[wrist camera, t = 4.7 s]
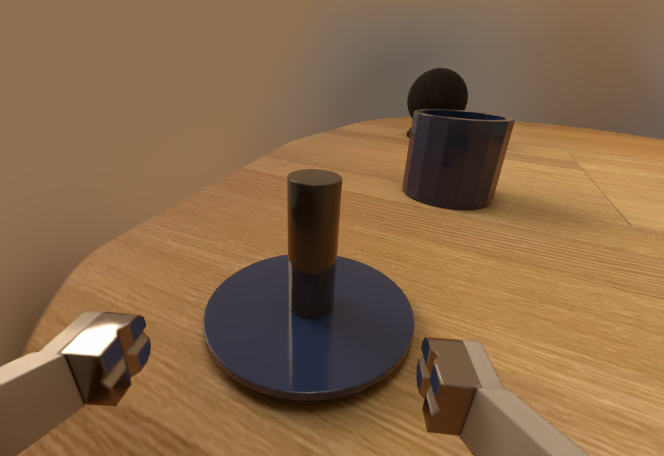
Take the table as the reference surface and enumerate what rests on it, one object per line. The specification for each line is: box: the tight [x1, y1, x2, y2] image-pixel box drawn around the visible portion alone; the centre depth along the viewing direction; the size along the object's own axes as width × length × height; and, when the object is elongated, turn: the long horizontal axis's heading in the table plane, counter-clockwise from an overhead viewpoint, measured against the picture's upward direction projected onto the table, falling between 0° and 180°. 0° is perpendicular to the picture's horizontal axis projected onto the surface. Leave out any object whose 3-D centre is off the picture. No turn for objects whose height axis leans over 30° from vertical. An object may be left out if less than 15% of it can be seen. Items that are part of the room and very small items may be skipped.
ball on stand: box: [407, 68, 468, 138], centre depth 76 cm, size 13×13×15 cm
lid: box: [203, 169, 414, 401], centre depth 17 cm, size 12×12×9 cm
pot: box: [403, 109, 515, 210], centre depth 39 cm, size 11×11×10 cm
